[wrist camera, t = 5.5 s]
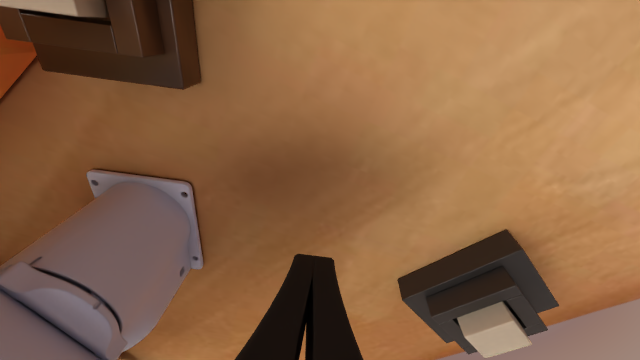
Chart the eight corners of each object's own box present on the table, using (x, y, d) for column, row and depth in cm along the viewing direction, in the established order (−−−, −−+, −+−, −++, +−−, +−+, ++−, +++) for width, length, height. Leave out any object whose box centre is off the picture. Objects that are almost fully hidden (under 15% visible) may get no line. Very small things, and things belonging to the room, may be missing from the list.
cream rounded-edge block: (475, 336, 22) (484, 359, 21) (455, 315, 21) (464, 337, 20) (519, 322, 21) (533, 345, 20) (500, 298, 20) (514, 321, 18)
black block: (439, 321, 27) (453, 364, 24) (397, 279, 25) (406, 320, 21) (542, 283, 24) (576, 327, 20) (506, 229, 21) (539, 268, 18)
